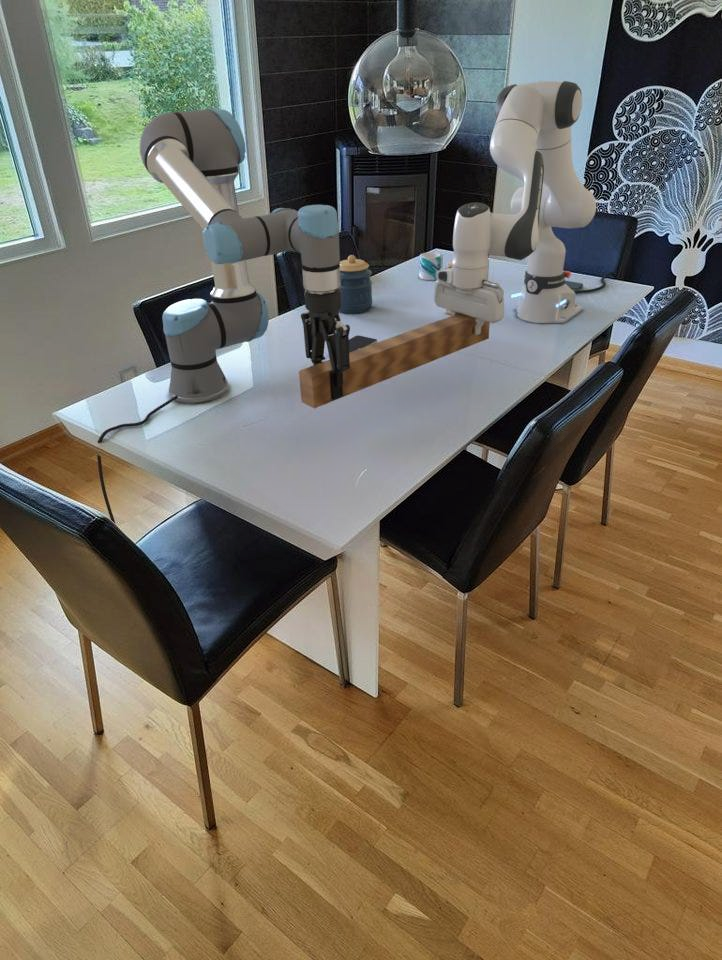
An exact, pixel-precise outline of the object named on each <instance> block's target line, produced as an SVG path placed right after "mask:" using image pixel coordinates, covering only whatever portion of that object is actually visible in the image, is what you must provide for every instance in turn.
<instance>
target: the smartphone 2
mask: <svg viewBox="0 0 722 960" xmlns="http://www.w3.org/2000/svg"><path fill="white" fill-rule="evenodd" d="M565 284H566V285H567V286H568V287H570V288H571V289H572V290H573V291H579V290H582V288H584V283H583V282H576V281H572V280H571V281H570V280H565Z"/></svg>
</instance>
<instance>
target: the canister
mask: <svg viewBox="0 0 722 960" xmlns="http://www.w3.org/2000/svg"><path fill="white" fill-rule="evenodd" d="M369 267H370V264H369V263H368V262H366V261H365V260H363V259H359V258H357V257H356V256H355V255H354V254H350V255H349V256H348V257H347V259H343V260H340V278H341V286H340V287H339V288H340V289H341V293H342V306H341V308H340V309H339V313H345V314H359V313H364V312H367V311H369V310H371V309H372V308H373V291H372V290H373V288H372V286H373V282H372V280H371V276H372V274H373V272H372V270H371V269H369Z"/></svg>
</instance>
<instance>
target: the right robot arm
mask: <svg viewBox="0 0 722 960" xmlns="http://www.w3.org/2000/svg"><path fill="white" fill-rule="evenodd" d="M582 94H583V93H582V89H581V88H580V86H579V85H578V84H577V83H576V82H573V81H568V80H564V81H553V80H552V81H551V80H547V81H546V80H541V81H537V82H527V83H521V84H516V83H515V84H511V85H507V86H505V87H503V88H502V90H501V91H500V92H499V94H497V97H496V100H495V108H494V113H495V114H494V116H495V120H496V121H495V122H494V127H493V129H492V133H491V137H490V142H489V143H490V144H489V153H490V156H491V158H492V160H493V162H494V163H495V164H496V165H497V166H498V167H499V168H500V169H501V170H502V171H504V172H505V173H508V174H510V175H512V176H513V177H516V178H518V179H519V180H521V181H522V182H523V186H520V187H519V188H517V189H516V191H514V193H513V195H512V196H511V200H510V205H509V206H510V207H509V208H510V213H509V214H507V213H495V212H491V209H490V206H489V205H487V204H485V203H484V202H483V203H482V202H470V203H466V204H463V205H461V206H460V207H458V209H457V210H456V214H455V219H454V225H453V233H452V249H453V257H452V266H451V267H448V268H447V267H445V268H441V270H439V271H437V272H436V281H435V284H434V300H433V301H434V303H435V305H436V306H437V307H439V308H443V309H445V310H446V309H448V310H451V314H450V316H453V315H456V314H459V313H461V314H464V315H467V316H471V317H474V318H476V322H477V324H476V326H475V327H472V334H475V335H478V334H480V333H481V327H482V325H483V324H484V322H485V321H487V322H490V323H491V324H495V323H498V322H501V321H502V320H503V319H504V317H505V299H504V296H505V295H504V294H505V291H504V289H503V288H502V286H501V285H500V284H499V283H497V282H492V281H490V280H489V273H490V259H489V256H496V257H503V258H504V257H506V258H508V259H513V260H518V261H523V260H525V259H527V262H526V263H527V265H526V271H524V272H525V273H524V277H523V278H524V279H523V280H524V281H523V283H524V285H522V286H521V289H520V292H519V293H518V292H517V293H514V294H511V297H510V298H511V299H512V298H516V297H519V300H518V305H517V306H515V312H516V313H517V314H516V316H517V317H518V318H519V319H521V320H523V321H525V322H529V323H535V324H536V323H537V324H552V323H555V324H564V323H566V322H567V321H569V320H570V319H572V318H573V317H575V316H577V315H578V314H579V313H581V312H582V311H583V308H582V306H581V305H578V304H576V295H578V294H587V293H594V292H597V291H599V290H603V289H604V288H605V287H606V285H607V282H606V281H605V279H606V278H607V277H609V276H612V277H615V276H616V273H615V272H614V271H609V272H607V273H606V274H604V275H603V276H602V277H601V279H600V282H601V283H602V285H600V286H598V287H595V288H590V289H580V290H579V291H573V290H572V289H571V288H570V287H568V286H567V285H566V284H565V281H566V278H567V279H569V278H570V277H571V275H572V273H571V271H569V270H564V268H565V259H566V253H567V251H566V250H567V249H566V246H565V244H564V243H563V241H562V240H561V239H559V237H557V236H556V235H555V234H554V231H553V229H552V227H553V228H561V229H579V228H586V226H588V225H589V224H590V223H592V220H593V219H594V217H595V214H596V211H597V200H596V197H595V196H594V194H593V193H592V192H591V191H590V190H588V189H587V188H586V187H585V186H584V185H583V184H582V182H581V180H580V179H579V178H578V174H577V173H576V171H575V167H574V163H573V152H572V126H573V125H574V124H575V123H576V122H577V121H578V120H579V118H580V114H581V111H582V108H583V107H582V106H583V96H582Z"/></svg>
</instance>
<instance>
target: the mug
mask: <svg viewBox="0 0 722 960" xmlns="http://www.w3.org/2000/svg"><path fill="white" fill-rule="evenodd" d="M443 262H444V254H441V253H439V252H434V251H429V252H428V251H427V252H423V253H420V255H419V265H418V266H419V267H418V268H419V270H418V271H419V272H418V274H419V276H418V278H419V279H421V280H426V281H437V279H436V272H437V271H439V270H442V269H444V268H443V267H444V265H443V264H444V263H443Z"/></svg>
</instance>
